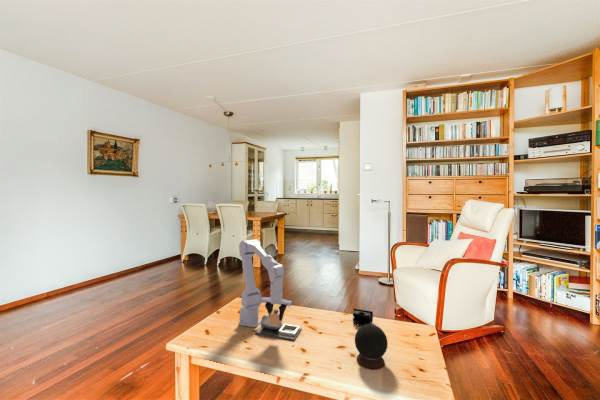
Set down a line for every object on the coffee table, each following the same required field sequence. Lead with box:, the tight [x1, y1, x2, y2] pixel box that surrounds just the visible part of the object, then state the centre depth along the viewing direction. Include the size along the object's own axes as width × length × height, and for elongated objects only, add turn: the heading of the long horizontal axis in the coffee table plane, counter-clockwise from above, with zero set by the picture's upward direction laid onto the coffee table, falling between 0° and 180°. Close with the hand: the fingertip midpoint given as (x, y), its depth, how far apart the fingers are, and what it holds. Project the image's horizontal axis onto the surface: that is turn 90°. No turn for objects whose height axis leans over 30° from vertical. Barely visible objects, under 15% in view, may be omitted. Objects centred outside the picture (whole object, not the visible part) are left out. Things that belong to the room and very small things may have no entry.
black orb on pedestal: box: [354, 323, 389, 371], centre depth 119 cm, size 13×13×15 cm
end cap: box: [352, 308, 374, 326], centre depth 155 cm, size 10×7×7 cm
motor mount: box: [255, 314, 303, 342], centre depth 143 cm, size 20×12×7 cm, turn 73°
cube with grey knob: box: [270, 308, 283, 325], centre depth 136 cm, size 4×4×6 cm
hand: (276, 319), depth 136 cm, fingers closed on cube with grey knob, 4 cm apart
